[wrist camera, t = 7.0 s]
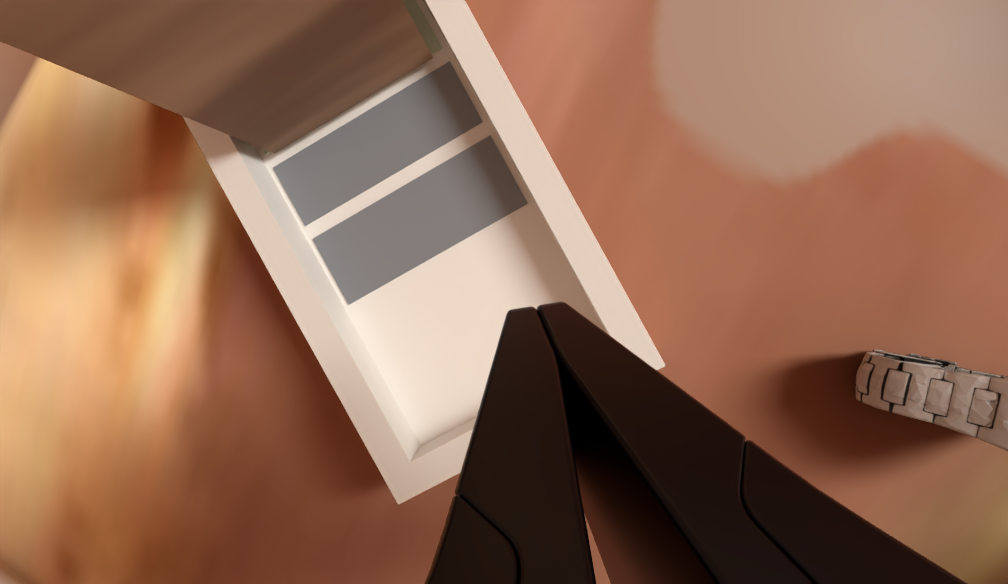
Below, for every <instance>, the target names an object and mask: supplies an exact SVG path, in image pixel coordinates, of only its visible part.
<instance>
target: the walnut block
mask: <svg viewBox="0 0 1008 584" xmlns="http://www.w3.org/2000/svg"><path fill="white" fill-rule="evenodd" d="M0 41H1V42H3V43H6V44H8V45H11V46H13V47H16V48H18V49H21V50H23V51H25V52H28V53H30V54H32V55H35V56H37V57H40V58H42V59H45V60H47V61H50V62H52V63H54V64H57V65H59V66H62V67H64V68H67V69H69V70H72V71H74V72H76V73H79V74H81V75H84V76H86V77H89V78H91V79H94V80H96V81H98V82H101V83H103V84H106V85H108V86H111V87H113V88H116V89H118V90H120V91H123V92H125V93H128V94H130V95H133V96H135V97H137V98H140V99H142V100H145V101H147V102H150V103H152V104H155V105H157V106H159V107H162V108H164V109H167V110H169V111H172V112H174V113H177V114H179V115H181V116H184V117H186V118H189V119H191V120H194V121H196V122H199V123H201V124H203V125H206V126H208V127H211V128H213V129H216V130H218V131H221V132H223V133H225V134H228V135H230V136H233V137H235V138H238V139H240V140H243V141H245V142H247V143H250V144H252V145H255V146H257V147H260V148H262V149H265V150H267V151H269V152H272V153H274V154H275V153H277V152H278V151H280V150H282V149H283V148H285V147H287V146H288V145H290V144H292V143H293V142H295V141H297V140H298V139H300V138H302V137H303V136H305V135H306V134H308V133H310V132H311V131H313V130H315V129H316V128H318V127H320V126H321V125H323V124H325V123H326V122H328V121H330V120H331V119H333V118H335V117H336V116H338V115H340V114H341V113H343V112H345V111H346V110H348V109H349V108H351V107H353V106H354V105H356V104H358V103H359V102H361V101H363V100H364V99H366V98H368V97H369V96H371V95H373V94H374V93H376V92H378V91H379V90H381V89H383V88H384V87H386V86H388V85H389V84H391V83H392V82H394V81H396V80H397V79H399V78H401V77H402V76H404V75H406V74H407V73H409V72H411V71H412V70H414V69H416V68H417V67H419V66H421V65H422V64H424V63H426V62H427V61H429V60H431V59H432V58H433V56H432V54H431V52H430V50H429V49H428V47H427V45H426V43H425V41H424V39H423V38H422V36H421V34H420V32H419V30H418V28H417V26H416V25H415V23H414V21H413V19H412V17H411V15H410V13H409V12H408V10H407V8H406V6H405V4H404V2H403V1H402V0H0Z"/></svg>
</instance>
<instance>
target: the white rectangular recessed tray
mask: <svg viewBox="0 0 1008 584" xmlns="http://www.w3.org/2000/svg"><path fill="white" fill-rule="evenodd" d="M402 1H403V2H404V4H405V6H406V8H407V10H408V12H409V13H410V15H411V17H412V19H413V21H414V23H415V25H416V26H417V28H418V30H419V32H420V34H421V36H422V38H423V39H424V41H425V43H426V45H427V47H428V49H429V50H430V52H431V54H432V56H433V58H432V59H431V60H429V61H427V62H426V63H424V64H422V65H421V66H419V67H417V68H416V69H414V70H412V71H411V72H409V73H407V74H406V75H404V76H402V77H401V78H399V79H397V80H396V81H394V82H392V83H391V84H389V85H388V86H386V87H384V88H383V89H381V90H379V91H378V92H376V93H374V94H373V95H371V96H369V97H368V98H366V99H364V100H363V101H361V102H359V103H358V104H356V105H354V106H353V107H351V108H349V109H348V110H346V111H345V112H343V113H341V114H340V115H338V116H336V117H335V118H333V119H331V120H330V121H328V122H326V123H325V124H323V125H321V126H320V127H318V128H316V129H315V130H313V131H311V132H310V133H308V134H306V135H305V136H303V137H302V138H300V139H298V140H297V141H295V142H293V143H292V144H290V145H288V146H287V147H285V148H283V149H282V150H280V151H278V152H277V153H275V154H274V153H272V152H269V151H267V150H265V149H262V148H260V147H257V146H255V145H252V144H250V143H247V142H245V141H243V140H240V139H238V138H235V137H233V136H230V135H228V134H225V133H223V132H221V131H218V130H216V129H213V128H211V127H208V126H206V125H203V124H201V123H199V122H196V121H194V120H191V119H189V118H186V117H184V116H182V117H183V118H184V120H185V122H186V124H187V126H188V127H189V129H190V131H191V133H192V135H193V136H194V138H195V140H196V142H197V144H198V145H199V147H200V149H201V151H202V153H203V154H204V156H205V158H206V160H207V162H208V163H209V165H210V167H211V169H212V171H213V172H214V174H215V176H216V178H217V180H218V181H219V183H220V185H221V187H222V189H223V190H224V192H225V194H226V196H227V198H228V199H229V201H230V203H231V205H232V207H233V208H234V210H235V212H236V214H237V216H238V217H239V219H240V221H241V223H242V225H243V226H244V228H245V230H246V232H247V234H248V235H249V237H250V239H251V241H252V243H253V244H254V246H255V248H256V250H257V252H258V253H259V255H260V257H261V259H262V261H263V262H264V264H265V266H266V268H267V270H268V271H269V273H270V275H271V277H272V279H273V280H274V282H275V284H276V286H277V288H278V289H279V291H280V293H281V295H282V297H283V298H284V300H285V302H286V304H287V306H288V307H289V309H290V311H291V313H292V315H293V316H294V318H295V320H296V322H297V324H298V325H299V327H300V329H301V331H302V333H303V334H304V336H305V338H306V340H307V342H308V343H309V345H310V347H311V349H312V351H313V352H314V354H315V356H316V358H317V360H318V361H319V363H320V365H321V367H322V369H323V370H324V372H325V374H326V376H327V377H328V379H329V381H330V383H331V385H332V386H333V388H334V390H335V392H336V394H337V395H338V397H339V399H340V401H341V403H342V404H343V406H344V408H345V410H346V412H347V413H348V415H349V417H350V419H351V421H352V422H353V424H354V426H355V428H356V430H357V431H358V433H359V435H360V437H361V439H362V440H363V442H364V444H365V446H366V448H367V449H368V451H369V453H370V455H371V457H372V458H373V460H374V462H375V464H376V466H377V467H378V469H379V471H380V473H381V475H382V476H383V478H384V480H385V482H386V484H387V485H388V487H389V489H390V491H391V493H392V494H393V496H394V498H395V500H396V502H397V503H398V505H399V504H401V503H403V502H405V501H407V500H409V499H410V498H412V497H414V496H416V495H418V494H420V493H422V492H424V491H426V490H428V489H430V488H432V487H433V486H435V485H437V484H439V483H441V482H443V481H445V480H447V479H449V478H451V477H453V476H455V475H457V474H458V473H460V472H461V469H462V465H463V462H464V459H465V455H466V452H467V448H468V445H469V441H470V438H471V434H472V431H473V428H474V424H475V421H476V417H477V414H478V410H479V407H480V403H481V400H482V397H483V393H484V390H485V386H486V383H487V379H488V376H489V372H490V369H491V365H492V362H493V359H494V355H495V352H496V348H497V345H498V341H499V338H500V334H501V331H502V328H503V324H504V321H505V317H506V314H507V312H508V311H509V310H511V309H517V308H523V307H530V306H532V307H534V308H535V309H537V307H538V306H539V305H542V304H548V303H554V302H565V303H567V304H568V305H570V306H571V307H572V308H574V309H575V310H576V311H578V312H579V313H580V314H582V315H583V316H584V317H586V318H587V319H588V320H590V321H591V322H592V323H594V324H595V325H596V326H598V327H599V328H600V329H602V330H603V331H604V332H606V333H607V334H608V335H610V336H611V337H613V338H614V339H615V340H617V341H618V342H619V343H621V344H622V345H623V346H625V347H626V348H627V349H629V350H630V351H631V352H633V353H634V354H635V355H637V356H638V357H639V358H641V359H642V360H643V361H645V362H646V363H647V364H649V365H650V366H651V367H653V368H654V369H655V370H658V369H660V368H662V367H664V366H666V365H665V364H664V362H663V360H662V358H661V356H660V354H659V353H658V351H657V349H656V347H655V345H654V344H653V342H652V340H651V338H650V336H649V334H648V333H647V331H646V329H645V327H644V325H643V324H642V322H641V320H640V318H639V316H638V314H637V313H636V311H635V309H634V307H633V305H632V304H631V302H630V300H629V298H628V296H627V294H626V293H625V291H624V289H623V287H622V285H621V284H620V282H619V280H618V278H617V276H616V274H615V273H614V271H613V269H612V267H611V265H610V264H609V262H608V260H607V258H606V256H605V254H604V253H603V251H602V249H601V247H600V245H599V244H598V242H597V240H596V238H595V236H594V234H593V233H592V231H591V229H590V227H589V225H588V224H587V222H586V220H585V218H584V216H583V214H582V213H581V211H580V209H579V207H578V205H577V204H576V202H575V200H574V198H573V196H572V194H571V193H570V191H569V189H568V187H567V185H566V184H565V182H564V180H563V178H562V176H561V174H560V173H559V171H558V169H557V167H556V165H555V164H554V162H553V160H552V158H551V156H550V154H549V153H548V151H547V149H546V147H545V145H544V144H543V142H542V140H541V138H540V136H539V134H538V133H537V131H536V129H535V127H534V125H533V124H532V122H531V120H530V118H529V116H528V114H527V113H526V111H525V109H524V107H523V105H522V104H521V102H520V100H519V98H518V96H517V94H516V93H515V91H514V89H513V87H512V85H511V84H510V82H509V80H508V78H507V76H506V74H505V73H504V71H503V69H502V67H501V65H500V64H499V62H498V60H497V58H496V56H495V54H494V53H493V51H492V49H491V47H490V45H489V44H488V42H487V40H486V38H485V36H484V34H483V33H482V31H481V29H480V27H479V25H478V23H477V22H476V20H475V18H474V16H473V14H472V13H471V11H470V9H469V7H468V5H467V3H466V2H465V0H402Z"/></svg>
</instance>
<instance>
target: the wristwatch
mask: <svg viewBox="0 0 1008 584" xmlns="http://www.w3.org/2000/svg"><path fill="white" fill-rule="evenodd" d="M956 364H957V363H956V362H951V361H946V360H941V359H934V358H929V357H923V356H919V355H917V354H908V355H901V354H896V353H890V352H886V351H882V350H873V352H866V354H865V356H864V358H863V361H862V363H861V364H860V366H859V368H858V371H857V375H856V399H857V400H859V401H861V402H863V403H865V404H868V405H870V406H873V407H875V408H878V409H881V410H885V411H889V412H892V413H896V414H899V415H903V416H906V417H910V418H914V419H918V420H922V421H926V422H930V423H934V424H937V425H941V426H943V427H946V428H949V429H952V430H954V431H957V432H959V433H962V434H965V435H969V436H973V437H976V438H978V439H980V440H983V441H985V442H987V443H990V444H992V445H995V446H997V447H999V448H1001V449H1004V450H1006V451H1008V376H1002V375H995V374H991V373H984V372H978V371H973V370H968V369H963V368H960V367H958V366H956Z"/></svg>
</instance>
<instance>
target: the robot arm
mask: <svg viewBox="0 0 1008 584" xmlns="http://www.w3.org/2000/svg"><path fill="white" fill-rule="evenodd" d="M745 440H746V438H745V436H744V435H743V434H741V433H740V432H739V431H737V430H736V429H735V428H733V427H732V426H731V425H729V424H728V423H727V422H725V421H724V420H723V419H721V418H720V417H719V416H717V415H716V414H715V413H713V412H712V411H710V410H709V409H708V408H706V407H705V406H704V405H702V404H701V403H700V402H698V401H697V400H696V399H694V398H693V397H692V396H690V395H689V394H688V393H686V392H685V391H684V390H682V389H681V388H680V387H678V386H677V385H676V384H674V383H673V382H672V381H670V380H669V379H668V378H666V377H665V376H664V375H662V374H661V373H659V372H658V371H657V370H655V369H654V368H653V367H651V366H650V365H649V364H647V363H646V362H645V361H643V360H642V359H641V358H639V357H638V356H637V355H635V354H634V353H633V352H631V351H630V350H629V349H627V348H626V347H625V346H623V345H622V344H621V343H619V342H618V341H617V340H615V339H614V338H613V337H611V336H610V335H608V334H607V333H606V332H604V331H603V330H602V329H600V328H599V327H598V326H596V325H595V324H594V323H592V322H591V321H590V320H588V319H587V318H586V317H584V316H583V315H582V314H580V313H579V312H578V311H576V310H575V309H574V308H572V307H571V306H570V305H568V304H567V303H565V302H554V303H548V304H542V305H539V306H538V307H537V309H535V308H534V307H532V306H530V307H523V308H517V309H511V310H509V311H508V312H507V314H506V317H505V321H504V324H503V328H502V331H501V334H500V338H499V341H498V345H497V348H496V352H495V355H494V359H493V362H492V365H491V369H490V372H489V376H488V379H487V383H486V386H485V390H484V393H483V397H482V400H481V403H480V407H479V410H478V414H477V417H476V421H475V424H474V428H473V431H472V434H471V438H470V441H469V445H468V448H467V452H466V455H465V459H464V462H463V465H462V469H461V472H460V476H459V479H458V483H457V486H456V490H455V495H456V496H454V497H453V499H452V502H451V506H450V509H449V512H448V516H447V519H446V523H445V526H444V529H443V532H442V535H441V538H440V541H439V544H438V547H437V550H436V553H435V556H434V559H433V562H432V566H431V569H430V571H429V574H428V576H427V579H426V581H425V584H596V580H595V574H594V568H593V562H592V556H591V551H590V545H589V539H588V533H587V527H586V521H585V515H586V518H587V521H588V523H589V526H590V529H591V531H592V534H593V537H594V539H595V542H596V545H597V547H598V550H599V553H600V555H601V558H602V561H603V563H604V566H605V569H606V571H607V574H608V577H609V579H610V582H611V584H967V583H966V582H964V581H962V580H961V579H959V578H958V577H956V576H954V575H953V574H951V573H950V572H948V571H946V570H945V569H943V568H942V567H940V566H938V565H937V564H935V563H933V562H932V561H930V560H929V559H927V558H925V557H924V556H922V555H921V554H919V553H917V552H916V551H914V550H913V549H911V548H909V547H908V546H906V545H905V544H903V543H901V542H900V541H898V540H897V539H895V538H893V537H892V536H890V535H889V534H887V533H885V532H884V531H882V530H881V529H879V528H877V527H876V526H874V525H873V524H871V523H870V522H868V521H866V520H865V519H863V518H862V517H860V516H859V515H857V514H856V513H854V512H853V511H851V510H850V509H848V508H846V507H845V506H843V505H842V504H840V503H839V502H837V501H836V500H834V499H833V498H831V497H830V496H828V495H826V494H825V493H823V492H822V491H820V490H819V489H817V488H816V487H815V486H813V485H812V484H810V483H809V482H808V481H806V480H805V479H803V478H802V477H801V476H799V475H798V474H796V473H795V472H794V471H792V470H791V469H789V468H788V467H786V466H785V465H784V464H782V463H781V462H779V461H778V460H777V459H775V458H774V457H773V456H771V455H770V454H769V453H767V452H766V451H765V450H763V449H762V448H761V447H759V446H758V445H757V444H755V443H754V442H752V441H751V440H748V441H746V443H745ZM584 513H585V515H584Z"/></svg>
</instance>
